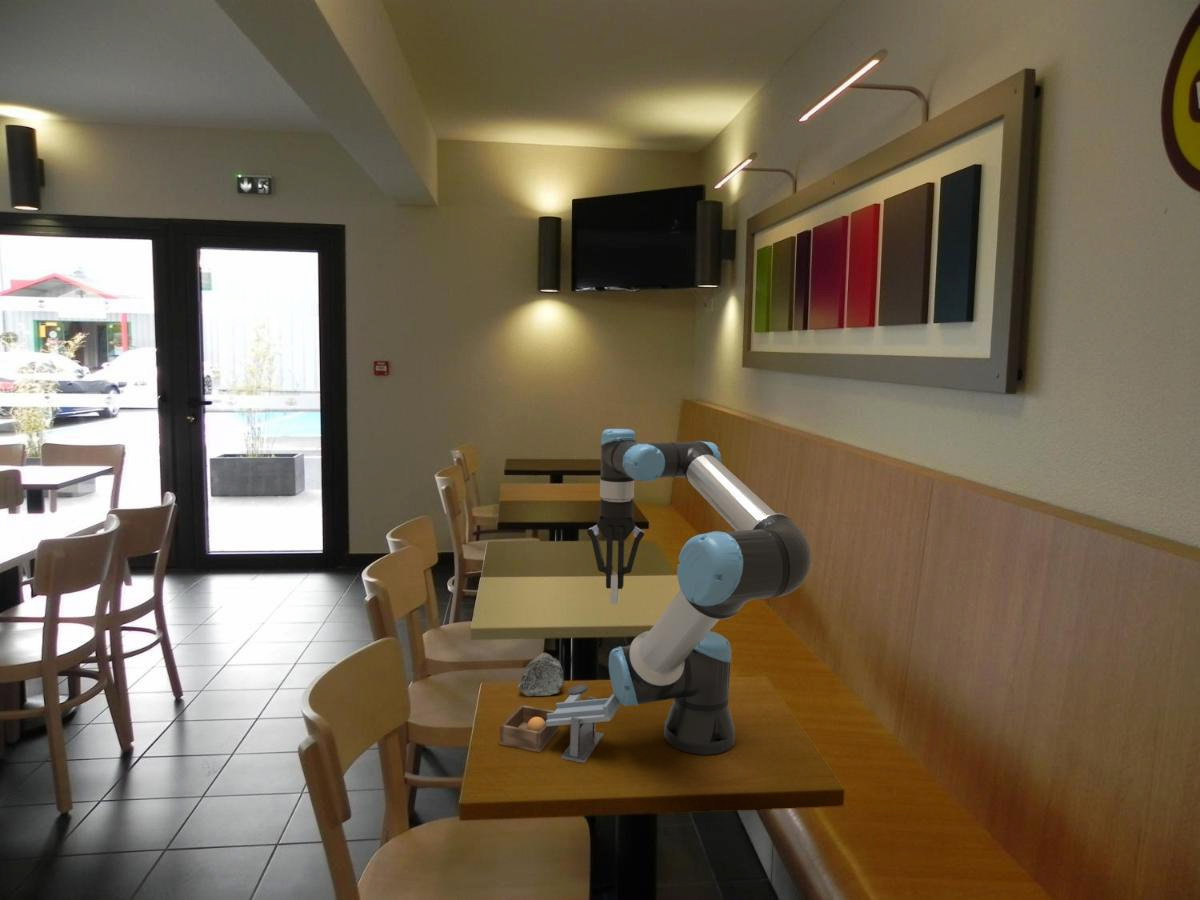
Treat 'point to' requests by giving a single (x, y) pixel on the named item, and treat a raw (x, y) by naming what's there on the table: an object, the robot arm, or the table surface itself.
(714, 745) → the robot arm
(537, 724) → the ball
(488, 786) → the table surface
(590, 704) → the seesaw
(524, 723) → the tray
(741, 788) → the table surface
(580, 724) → the pivot stand
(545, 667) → the stone
